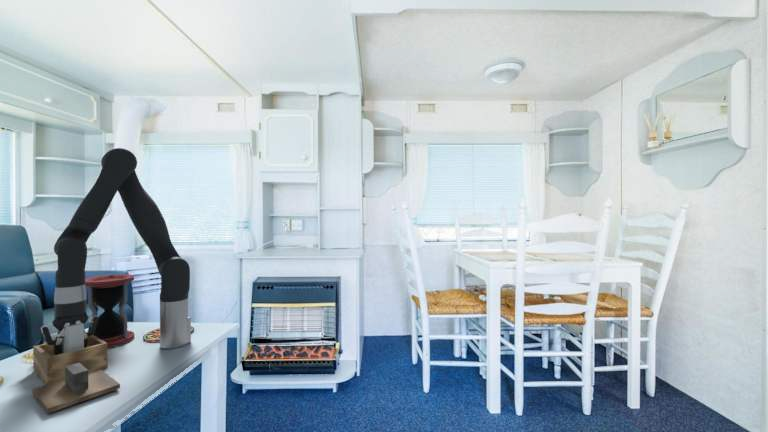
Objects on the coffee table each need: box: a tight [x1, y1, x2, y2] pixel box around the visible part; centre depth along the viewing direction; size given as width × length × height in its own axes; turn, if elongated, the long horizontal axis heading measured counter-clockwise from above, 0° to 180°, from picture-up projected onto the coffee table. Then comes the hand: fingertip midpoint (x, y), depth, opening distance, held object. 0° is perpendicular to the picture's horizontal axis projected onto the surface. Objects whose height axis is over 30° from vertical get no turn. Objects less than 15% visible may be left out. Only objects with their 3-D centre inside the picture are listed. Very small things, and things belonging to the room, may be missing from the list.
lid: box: [32, 363, 121, 414], centre depth 94 cm, size 15×17×7 cm
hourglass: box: [85, 273, 135, 349], centre depth 131 cm, size 16×16×25 cm
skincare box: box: [56, 323, 85, 354], centre depth 108 cm, size 6×4×12 cm
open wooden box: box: [32, 335, 109, 385], centre depth 108 cm, size 14×16×8 cm
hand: (71, 352), depth 108 cm, fingers closed on skincare box, 5 cm apart
